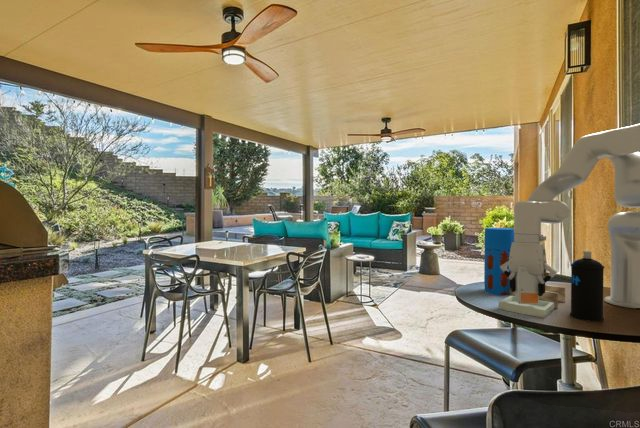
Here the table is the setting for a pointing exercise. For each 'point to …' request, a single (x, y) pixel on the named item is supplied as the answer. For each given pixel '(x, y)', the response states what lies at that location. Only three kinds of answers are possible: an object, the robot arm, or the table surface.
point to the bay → (550, 294)
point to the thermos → (497, 259)
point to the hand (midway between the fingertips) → (527, 292)
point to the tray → (527, 307)
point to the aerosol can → (587, 289)
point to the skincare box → (526, 287)
